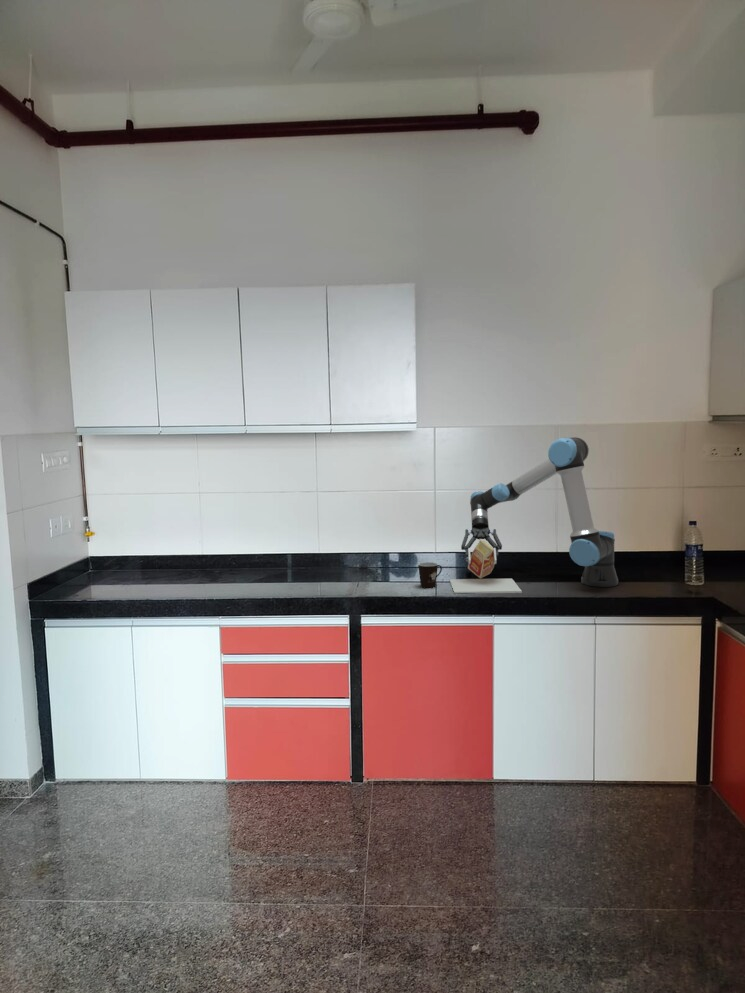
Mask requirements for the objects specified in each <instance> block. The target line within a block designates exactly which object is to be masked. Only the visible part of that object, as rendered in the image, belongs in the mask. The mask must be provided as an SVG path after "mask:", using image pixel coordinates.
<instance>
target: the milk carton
mask: <svg viewBox="0 0 745 993" xmlns="http://www.w3.org/2000/svg"><path fill="white" fill-rule="evenodd" d="M470 558H471V562H470V564H469V563H468V566H467V569H468V570H469V571H470V572H472V574H474V575H475V576H476V577H477V578H478V579H484V577H486V576H488V575H490V574H492V571H493V570H494V568H495V564H494V548H493V547H492V546H491V545H490V544H489V543H487V542H486V540H485V539H478V543H477V544H476V545H475V547H474V549H473V550H472V552H471V554H470Z"/></svg>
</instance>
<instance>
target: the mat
mask: <svg viewBox="0 0 745 993" xmlns="http://www.w3.org/2000/svg"><path fill="white" fill-rule="evenodd" d="M449 584H450V586H451V588H453V589H452V592H453V591H454V592H453V594H454V593H475V594H522V593H523V591H522V589H521V588H520V587H519V586H518V584H517V583H516V582H515V580H514V579H513V578H481V579H480V578H461V579H460V578H457V579H456V578H454V579H453V578H450V579H449Z"/></svg>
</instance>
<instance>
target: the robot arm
mask: <svg viewBox="0 0 745 993" xmlns="http://www.w3.org/2000/svg"><path fill="white" fill-rule="evenodd" d="M548 448H549V449H548V452H547V453H548V454H547V455H548V456H547V457H548V458H547V459H546V460H544V461H542V462H540V464H538V465H536V466H535V467H534V468H531V469H530V470H528V471H526V472H525V473H523V474H522V475H520V476H519V477H517V478H515V479H513V480H512V481H510V482H509V483H507V484H504V483H501V482H500V483H498V484H496V485H494V486H492V487H491V488H489V489H488V490H486V491H482V490H479V491H478V490H477V491H475V492H474V491H473V493H471V495H470V499H469V500H470V502H469V503H470V511H471V512H470V515H471V517H470V518H471V520H470V521H471V530H469V529H468V528H466V529H465V533H464V534H465V535H464V537H463V540H462V543H461V546H460V547H461V550H462V551H464V552H465V557H468V560H467V561H468V564H470V562H471V547H472V545H473V544H474V542H475V541H476V540H479V539H481V540H484V541H485V542H486V541H487V542H488V544H489V545H490V546H491V547H492V548H493V550H494V565H497V557H499V550H502V549H503V548H502V547H503V544H502V543H501V540H500V539H499V536H498V534H497V529H495V528H493V529H490V527H489V526H490V525H489V514H488V510H489V509H490V508H492V507H494V506H496V505H498V504H500V503H506V502H512V501H515V500H517V499H518V498H519V497H520V496H521V495H523V494H524V493H526V492H528V491H530V490H531V489H533V488H535V487H536V486H538V485H540V484H541V483H543V482H545V481H546V480H548V479H550V478H552V477H553V476H555V475H557V474H558V475H559V476H560V478H561V482H562V483H561V484H562V488H563V492H564V497H565V501H566V506H567V511H568V515H569V520H570V525H571V529H572V532H571V533H570V535H569V537H570V546H569V549H568V553H569V557H570V558H571V561H573V563H575V564H576V565H578V566H582V567H584V569H583V572H582V574H581V575H582V576H581V578H580V580H581V581H580V582H581V584H583V585H584V586H590V587H596V588H611V587H617V586H618V585H619V578H618V575H617V572H616V568H615V542H616V541H615V540H616V539H615V533H614V532H612V531H605V530H598V529H597V528H596V527H594V522H593V518H592V512H591V509H590V504H589V500H588V494H587V490H586V485H585V481H584V480H585V479H584V476H583V469H584V468H585V464H584V463H585V461H586V459H587V458H588V456H589V451H590V450H589V449H590V448H589V446H588V444H587V442H586V441H585V440H584V439H582V438H579V437H577V436H575V437H561V438H558V439H555V440H554V441H553V442H552V443H551V444H550V446H549V447H548ZM490 534H491V536H493V539H494V540H493V539H492V538H491V536H490ZM470 535H472V536H471V538H470V540H468V538H469V536H470ZM467 541H468V542H467Z"/></svg>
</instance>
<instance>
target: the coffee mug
mask: <svg viewBox="0 0 745 993" xmlns="http://www.w3.org/2000/svg"><path fill="white" fill-rule="evenodd" d="M417 566H418V576H419V582H420V588H421V587H423V588H422V589H426V588H431V589H434V588H433V587H435V588H436V585H437V578H438V577H439V576H440V574H441V573H442V570H443V568H442V565H441V564H438V563H437V562H429V561H427V562H426V561H425V562H420V563H418V564H417ZM438 567H440V568H439V569H440V570H439V572H438Z"/></svg>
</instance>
